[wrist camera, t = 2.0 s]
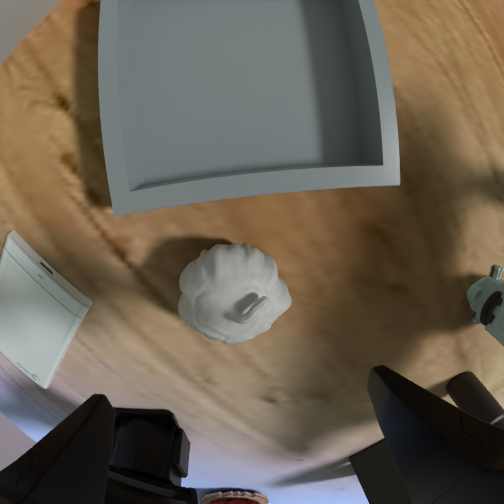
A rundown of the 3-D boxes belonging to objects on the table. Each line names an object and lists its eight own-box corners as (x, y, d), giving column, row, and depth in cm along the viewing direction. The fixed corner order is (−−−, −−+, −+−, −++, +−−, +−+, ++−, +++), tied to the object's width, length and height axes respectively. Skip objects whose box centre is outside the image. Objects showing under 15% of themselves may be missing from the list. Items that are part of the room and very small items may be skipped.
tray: (133, 204, 15) (114, 216, 12) (120, -5, 10) (104, -26, 8) (373, 178, 16) (400, 185, 13) (342, -21, 11) (359, -42, 8)
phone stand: (348, 457, 26) (375, 534, 15) (392, 433, 26) (428, 508, 14) (367, 471, 29) (390, 533, 18) (403, 452, 28) (432, 512, 17)
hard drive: (46, 391, 18) (86, 310, 16) (-17, 335, 16) (4, 233, 14) (52, 379, 20) (96, 298, 17) (-8, 326, 18) (18, 227, 15)
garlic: (277, 223, 16) (297, 255, 11) (285, 306, 18) (303, 358, 13) (172, 239, 16) (150, 277, 11) (192, 319, 18) (183, 374, 13)
